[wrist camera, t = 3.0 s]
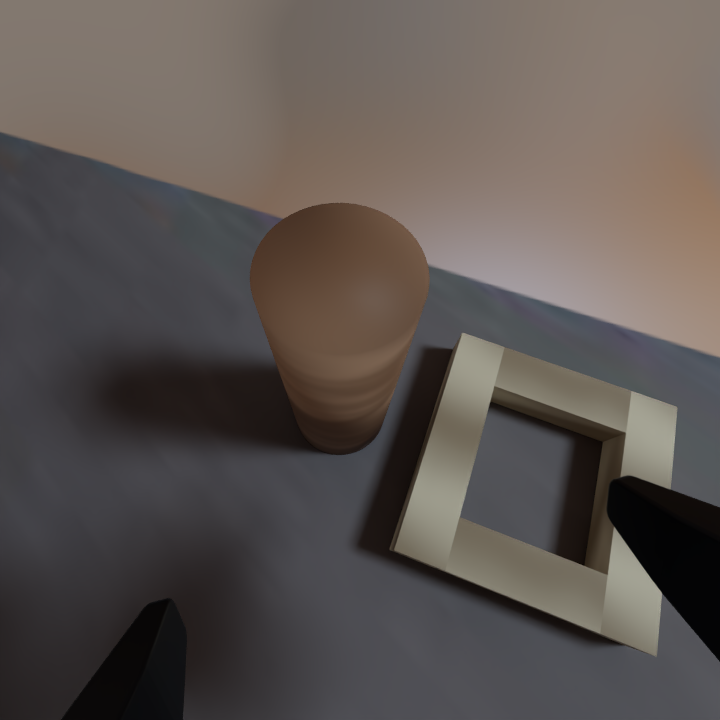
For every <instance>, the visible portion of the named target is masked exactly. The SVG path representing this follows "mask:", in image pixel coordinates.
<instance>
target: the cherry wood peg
mask: <svg viewBox="0 0 720 720" xmlns="http://www.w3.org/2000/svg"><path fill="white" fill-rule="evenodd" d="M250 285H251V291H252V295H253V299H254V302H255V305H256V308H257V311H258V313H259V316H260V319H261V322H262V325H263V328H264V330H265V333H266V336H267V339H268V342H269V345H270V347H271V350H272V353H273V356H274V359H275V362H276V364H277V367H278V370H279V373H280V376H281V379H282V381H283V384H284V387H285V390H286V393H287V396H288V398H289V401H290V404H291V407H292V410H293V413H294V415H295V418H296V421H297V424H298V427H299V429H300V431H301V433H302V435H303V436H304V437H305V439H306V440H307V441H308V442H309V443H310V444H311V445H312V446H314V447H315V448H317V449H319V450H321V451H323V452H326V453H329V454H335V455H345V454H351V453H354V452H357V451H359V450H361V449H363V448H365V447H366V446H367V445H369V444H370V443H371V442H372V441H373V440H374V439H375V437H376V436H377V435H378V433H379V431H380V429H381V427H382V424H383V421H384V418H385V415H386V413H387V410H388V407H389V404H390V401H391V398H392V395H393V393H394V390H395V387H396V384H397V381H398V378H399V376H400V373H401V370H402V367H403V364H404V361H405V358H406V356H407V353H408V350H409V347H410V344H411V341H412V338H413V336H414V333H415V330H416V327H417V324H418V321H419V319H420V316H421V313H422V310H423V307H424V304H425V301H426V299H427V295H428V290H429V269H428V264H427V261H426V257H425V255H424V253H423V251H422V248H421V247H420V245H419V243H418V242H417V240H416V239H415V238H414V236H413V235H412V234H411V233H410V232H409V231H408V230H407V229H406V228H405V227H404V226H403V225H402V224H400V223H399V222H398V221H396V220H395V219H393V218H392V217H390V216H388V215H386V214H384V213H382V212H380V211H378V210H375V209H372V208H369V207H366V206H361V205H357V204H349V203H329V204H321V205H316V206H312V207H308V208H306V209H302V210H300V211H298V212H296V213H294V214H291V215H290V216H288V217H286V218H285V219H283V220H282V221H280V222H279V223H278V224H276V225H275V226H274V227H273V228H272V229H271V230H270V231H269V232H268V233H267V234H266V236H265V237H264V238H263V240H262V241H261V243H260V244H259V246H258V248H257V250H256V252H255V255H254V257H253V260H252V265H251V270H250Z"/></svg>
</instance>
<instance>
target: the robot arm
mask: <svg viewBox="0 0 720 720" xmlns="http://www.w3.org/2000/svg"><path fill="white" fill-rule="evenodd" d="M606 511H607V515H608V518H609V520H610V521H611V523H612V524H613V526H614V527H615V529H616V530H617V531H618V533H619V534H620V536H621V537H622V539H623V540H624V541H625V543H626V544H627V546H628V547H629V548H630V550H631V551H632V553H633V554H634V556H635V557H636V558H637V560H638V561H639V563H640V564H641V565H642V567H643V568H644V570H645V571H646V572H647V574H648V575H649V577H650V578H651V579H652V581H653V582H654V583H655V585H656V586H657V587H658V589H659V590H660V591H661V592H662V594H663V595H664V596H665V597H666V599H667V600H668V601H669V602H670V603H671V604H672V606H673V607H674V608H675V609H676V610H677V612H678V613H679V614H680V615H681V616H682V617H683V619H684V620H685V621H686V622H687V623H688V625H689V626H690V627H691V628H692V629H693V630H694V632H695V633H696V634H697V635H698V636H699V638H700V639H701V640H702V641H703V642H704V643H705V645H706V646H707V647H708V648H709V649H710V651H711V652H712V653H713V654H714V655H715V656H716V658H717V659H718V660H719V661H720V507H717V506H714V505H712V504H709V503H706V502H703V501H701V500H698V499H695V498H692V497H690V496H687V495H684V494H681V493H679V492H676V491H673V490H670V489H668V488H665V487H662V486H659V485H657V484H654V483H651V482H648V481H646V480H643V479H640V478H637V477H635V476H631V475H626V476H623V477H619V478H615V479H612V480H611V481H610V483H609V487H608V497H607V506H606ZM186 646H187V635H186V629H185V626H184V623H183V621H182V619H181V616H180V614H179V612H178V610H177V607H176V605H175V603H174V601H173V600H172V599H170V598H167V599H163V600H159V601H155V602H152V603H149V604H148V605H147V606H145V607H144V609H143V610H142V611H141V613H140V614H139V615H138V617H137V618H136V619H135V621H134V622H133V623H132V625H131V626H130V627H129V629H128V630H127V631H126V633H125V634H124V635H123V637H122V638H121V639H120V641H119V642H118V644H117V645H116V646H115V648H114V649H113V650H112V652H111V653H110V654H109V656H108V657H107V658H106V660H105V661H104V662H103V664H102V665H101V666H100V668H99V669H98V670H97V672H96V673H95V674H94V676H93V677H92V678H91V680H90V681H89V682H88V684H87V685H86V686H85V688H84V689H83V690H82V692H81V693H80V694H79V696H78V697H77V699H76V700H75V701H74V703H73V704H72V705H71V707H70V708H69V709H68V711H67V712H66V713H65V715H64V716H63V717H62V719H61V720H183V706H184V686H185V666H186Z"/></svg>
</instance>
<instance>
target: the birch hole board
mask: <svg viewBox="0 0 720 720" xmlns="http://www.w3.org/2000/svg"><path fill="white" fill-rule="evenodd" d="M490 401H491V402H493V403H496V404H499V405H502V406H504V407H507V408H510V409H513V410H516V411H518V412H521V413H524V414H527V415H529V416H532V417H535V418H538V419H541V420H543V421H546V422H549V423H552V424H554V425H557V426H560V427H563V428H566V429H568V430H571V431H574V432H577V433H579V434H582V435H585V436H588V437H591V438H593V439H596V440H599V441H602V442H603V445H602V452H601V458H600V465H599V472H598V478H597V485H596V491H595V498H594V505H593V511H592V518H591V525H590V531H589V538H588V545H587V551H586V558H585V565H584V566H583V565H580V564H578V563H575V562H573V561H570V560H568V559H565V558H563V557H560V556H557V555H555V554H552V553H550V552H547V551H545V550H542V549H539V548H537V547H534V546H532V545H529V544H527V543H524V542H522V541H519V540H516V539H514V538H511V537H509V536H506V535H504V534H501V533H499V532H496V531H493V530H491V529H488V528H486V527H483V526H481V525H478V524H475V523H473V522H470V521H468V520H465V519H463V518H460V513H461V510H462V506H463V502H464V498H465V494H466V491H467V487H468V483H469V479H470V476H471V472H472V468H473V464H474V461H475V457H476V453H477V449H478V446H479V442H480V438H481V434H482V431H483V427H484V423H485V419H486V415H487V412H488V408H489V404H490ZM676 417H677V407H676V406H673V405H670V404H667V403H664V402H661V401H659V400H656V399H653V398H650V397H647V396H644V395H641V394H638V393H635V392H633V391H630V390H627V389H624V388H621V387H618V386H615V385H612V384H609V383H607V382H604V381H601V380H598V379H595V378H592V377H589V376H586V375H583V374H581V373H578V372H575V371H572V370H569V369H566V368H563V367H560V366H557V365H554V364H552V363H549V362H546V361H543V360H540V359H537V358H534V357H531V356H528V355H526V354H523V353H520V352H517V351H514V350H511V349H508V348H505V347H502V346H500V345H497V344H494V343H491V342H488V341H485V340H482V339H479V338H476V337H474V336H471V335H468V334H465V333H462V334H461V336H460V338H459V339H458V341H457V343H456V345H455V346H454V348H453V351H452V354H451V357H450V360H449V363H448V367H447V370H446V373H445V376H444V379H443V382H442V385H441V389H440V392H439V395H438V398H437V401H436V404H435V407H434V411H433V414H432V417H431V420H430V423H429V426H428V429H427V433H426V436H425V439H424V442H423V445H422V448H421V451H420V455H419V458H418V461H417V464H416V467H415V470H414V473H413V477H412V480H411V483H410V486H409V489H408V492H407V495H406V499H405V502H404V505H403V508H402V511H401V514H400V517H399V521H398V524H397V527H396V530H395V533H394V536H393V539H392V543H391V546H390V549H389V550H391V551H393V552H396V553H398V554H401V555H403V556H406V557H408V558H411V559H413V560H416V561H418V562H421V563H423V564H425V565H428V566H430V567H433V568H435V569H438V570H440V571H443V572H445V573H448V574H450V575H453V576H455V577H458V578H460V579H462V580H465V581H467V582H470V583H472V584H475V585H477V586H480V587H482V588H485V589H487V590H490V591H492V592H495V593H497V594H499V595H502V596H504V597H507V598H509V599H512V600H514V601H517V602H519V603H522V604H524V605H527V606H529V607H532V608H534V609H536V610H539V611H541V612H544V613H546V614H549V615H551V616H554V617H556V618H559V619H561V620H564V621H566V622H569V623H571V624H573V625H576V626H578V627H581V628H583V629H586V630H588V631H591V632H593V633H596V634H598V635H601V636H603V637H606V638H608V639H610V640H613V641H615V642H618V643H620V644H623V645H625V646H628V647H631V648H634V649H636V650H639V651H642V652H645V653H648V654H651V655H653V656H656V657H657V646H658V634H659V622H660V610H661V598H662V592H661V591H660V590H659V589H658V587H657V586H656V585H655V583H654V582H653V581H652V579H651V578H650V577H649V575H648V574H647V572H646V571H645V570H644V568H643V567H642V565H641V564H640V563H639V561H638V560H637V558H636V557H635V556H634V554H633V553H632V551H631V550H630V548H629V547H628V546H627V544H626V543H625V541H624V540H623V539H622V537H621V536H620V534H619V533H618V531H617V530H616V529H615V527H614V526H613V524H612V523H611V521H610V520H609V518H608V515H607V511H606V506H607V497H608V487H609V483H610V481H611V480H612V479H615V478H619V477H623V476H626V475H631V476H635V477H637V478H640V479H643V480H646V481H648V482H651V483H654V484H657V485H659V486H662V487H665V488H668V489H671V477H672V465H673V453H674V441H675V429H676Z"/></svg>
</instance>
